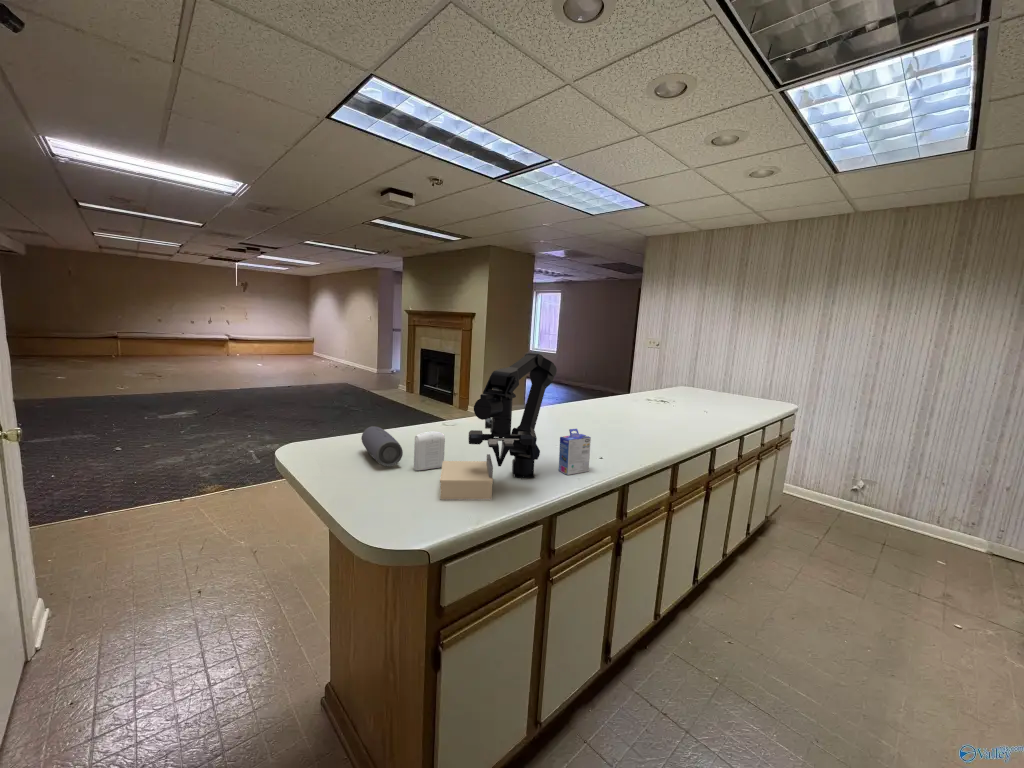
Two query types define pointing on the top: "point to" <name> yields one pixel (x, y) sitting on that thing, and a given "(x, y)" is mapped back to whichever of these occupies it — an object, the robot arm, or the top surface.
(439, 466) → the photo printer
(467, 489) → the mailer box
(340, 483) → the top surface
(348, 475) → the top surface
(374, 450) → the bluetooth speaker
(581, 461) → the ink cartridge box
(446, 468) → the lid
